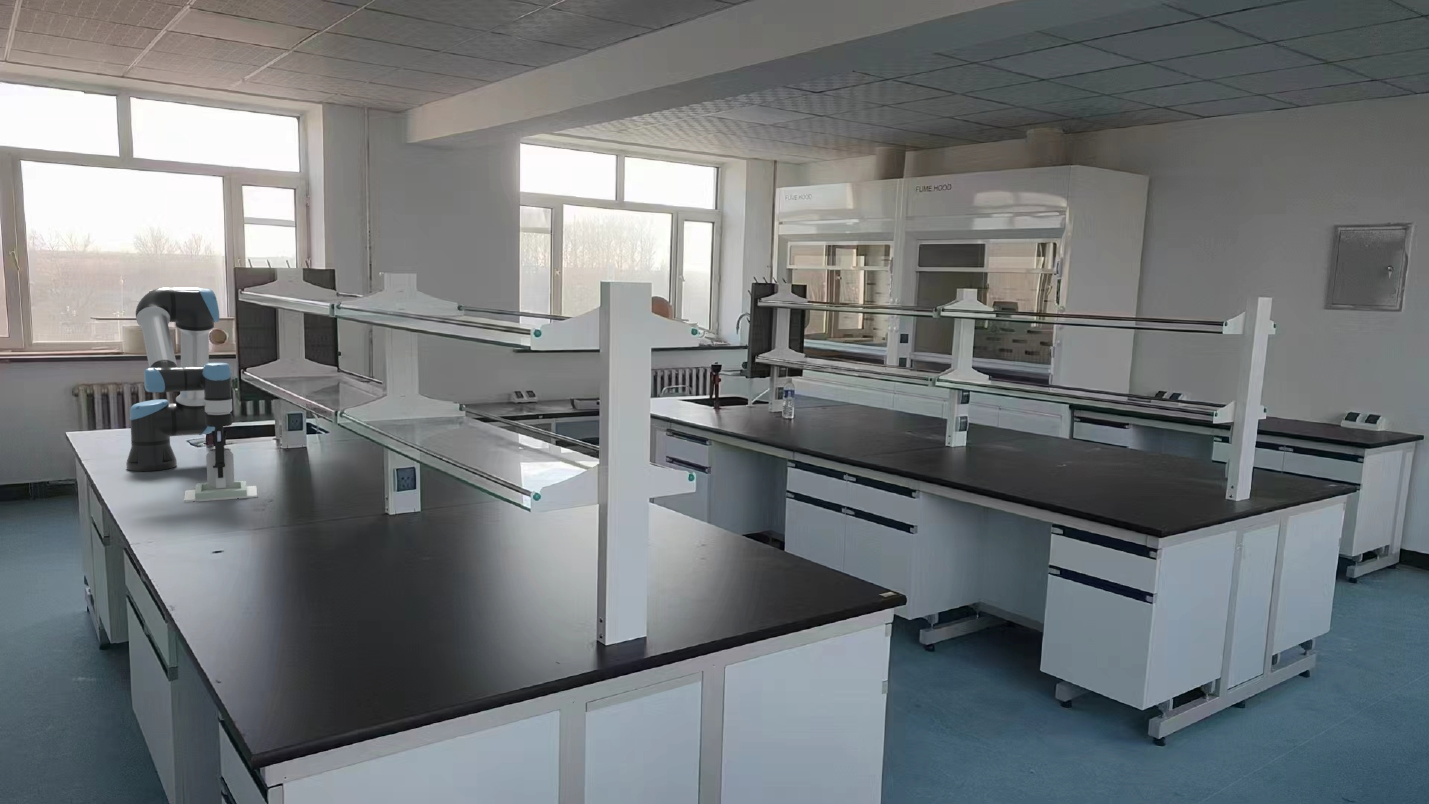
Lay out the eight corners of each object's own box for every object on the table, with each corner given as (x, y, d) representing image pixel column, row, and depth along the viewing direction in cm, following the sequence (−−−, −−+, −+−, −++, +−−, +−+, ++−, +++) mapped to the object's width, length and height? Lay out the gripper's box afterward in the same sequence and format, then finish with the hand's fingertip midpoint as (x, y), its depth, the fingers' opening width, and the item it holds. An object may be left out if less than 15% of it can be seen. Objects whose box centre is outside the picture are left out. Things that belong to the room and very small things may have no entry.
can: (226, 490, 289) (225, 452, 287) (202, 489, 289) (201, 451, 287) (239, 484, 296) (237, 447, 295) (215, 483, 296) (214, 446, 295)
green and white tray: (185, 492, 295) (185, 484, 294) (256, 487, 304) (256, 480, 303) (183, 502, 282) (183, 494, 282) (257, 497, 291) (257, 489, 291)
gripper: (205, 408, 297) (208, 478, 300) (203, 418, 279) (206, 493, 282) (232, 407, 300) (234, 477, 303) (232, 417, 282) (234, 491, 285)
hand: (221, 484), depth 293 cm, fingers closed on can, 7 cm apart
